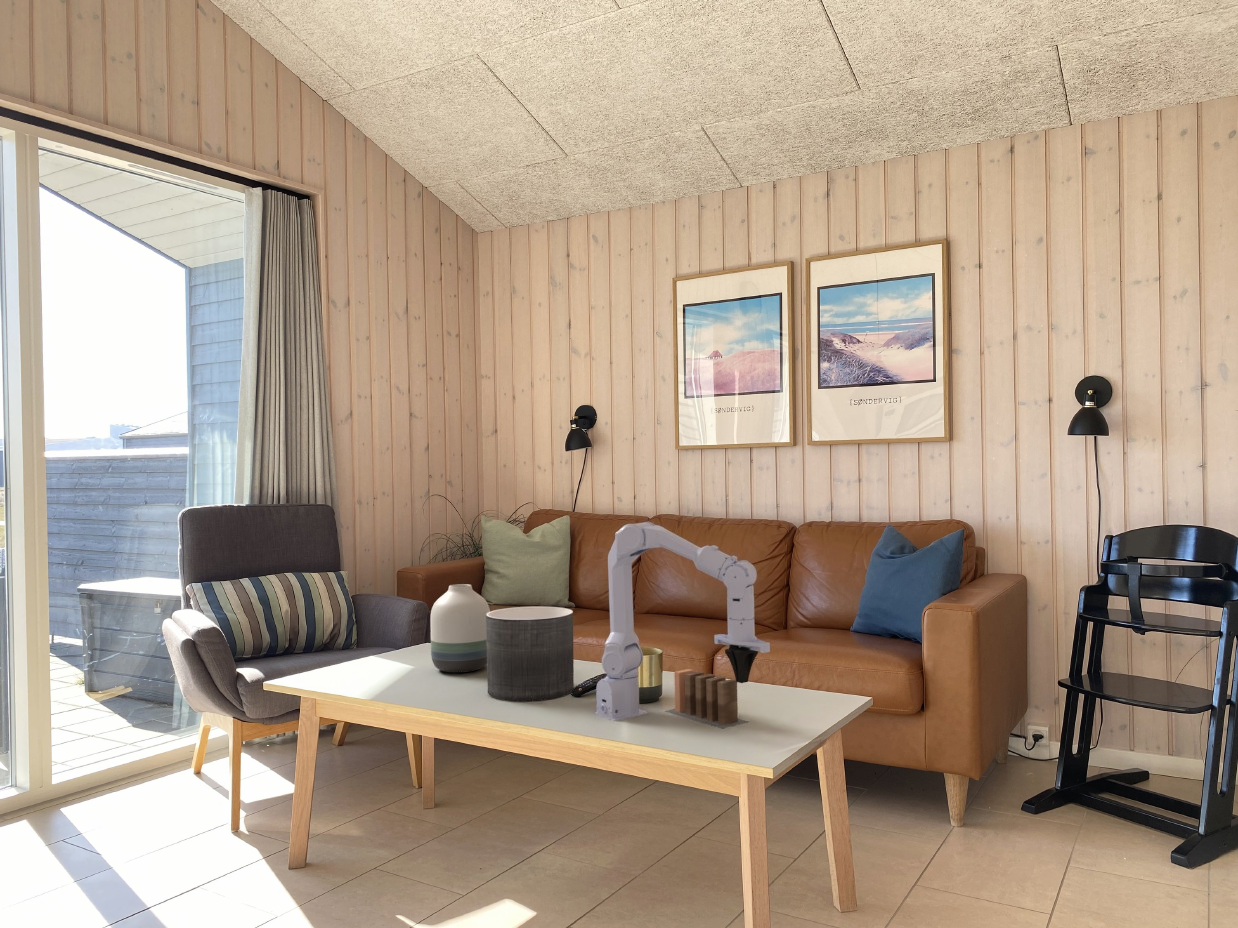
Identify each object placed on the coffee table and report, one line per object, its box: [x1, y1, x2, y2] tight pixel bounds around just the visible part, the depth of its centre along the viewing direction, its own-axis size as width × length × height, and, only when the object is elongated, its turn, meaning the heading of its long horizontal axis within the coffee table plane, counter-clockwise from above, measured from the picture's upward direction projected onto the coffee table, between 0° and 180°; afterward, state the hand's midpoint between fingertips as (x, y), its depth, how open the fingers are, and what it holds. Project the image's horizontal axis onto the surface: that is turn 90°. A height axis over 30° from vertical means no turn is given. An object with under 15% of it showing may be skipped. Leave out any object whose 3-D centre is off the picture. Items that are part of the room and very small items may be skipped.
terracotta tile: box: [673, 668, 694, 712], centre depth 203 cm, size 4×2×9 cm, turn 128°
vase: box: [430, 583, 491, 673], centre depth 253 cm, size 17×17×24 cm
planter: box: [486, 606, 575, 703], centre depth 226 cm, size 22×22×20 cm
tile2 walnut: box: [706, 676, 727, 722], centre depth 195 cm, size 4×2×9 cm, turn 128°
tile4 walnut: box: [685, 670, 705, 716], centre depth 201 cm, size 4×2×9 cm, turn 128°
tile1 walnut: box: [717, 678, 739, 725], centre depth 192 cm, size 4×2×9 cm, turn 128°
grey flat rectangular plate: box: [664, 708, 750, 730], centre depth 198 cm, size 8×19×1 cm, turn 38°
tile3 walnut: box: [695, 673, 715, 719], centre depth 198 cm, size 4×2×9 cm, turn 128°
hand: (742, 681), depth 189 cm, fingers closed
